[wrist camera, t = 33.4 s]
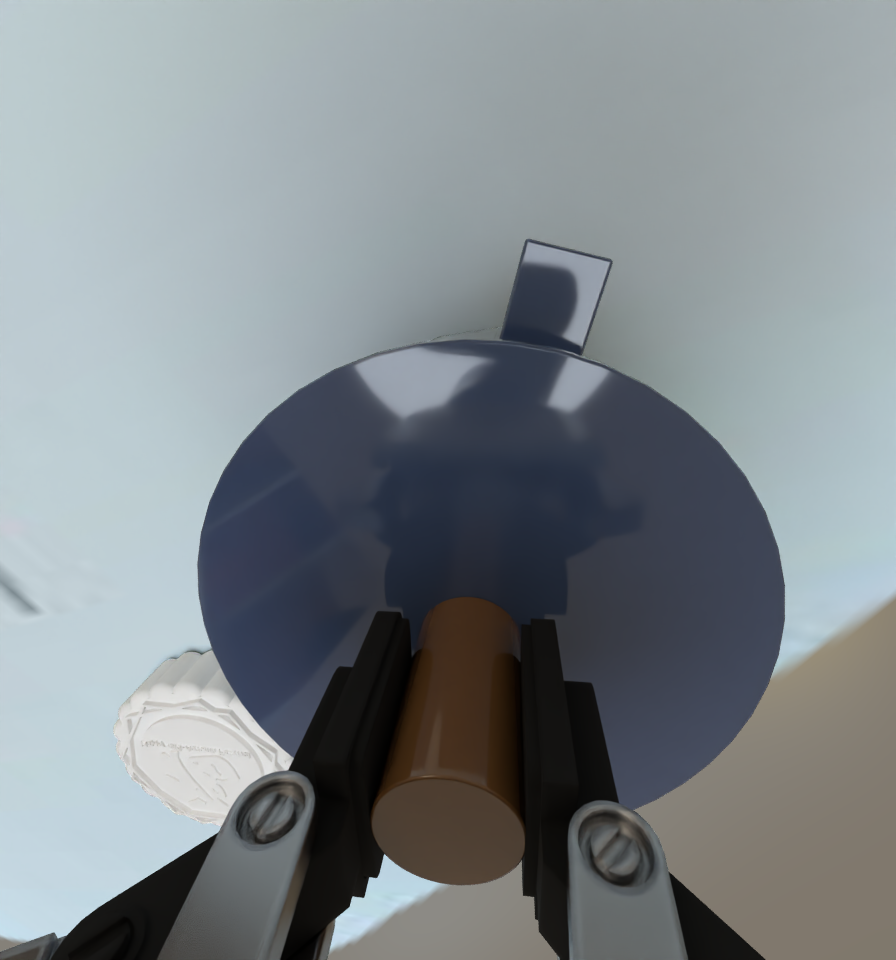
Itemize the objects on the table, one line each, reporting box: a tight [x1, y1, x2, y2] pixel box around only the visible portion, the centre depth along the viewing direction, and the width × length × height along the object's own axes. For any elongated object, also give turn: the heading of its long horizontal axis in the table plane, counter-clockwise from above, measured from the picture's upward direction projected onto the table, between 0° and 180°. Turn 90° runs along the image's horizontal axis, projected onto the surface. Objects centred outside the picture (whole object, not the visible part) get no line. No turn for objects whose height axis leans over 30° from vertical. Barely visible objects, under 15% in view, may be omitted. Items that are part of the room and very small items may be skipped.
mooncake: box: [113, 651, 294, 826], centre depth 30 cm, size 12×12×4 cm
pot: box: [430, 239, 613, 356], centre depth 19 cm, size 14×19×8 cm
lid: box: [197, 338, 785, 885], centre depth 10 cm, size 15×15×6 cm
